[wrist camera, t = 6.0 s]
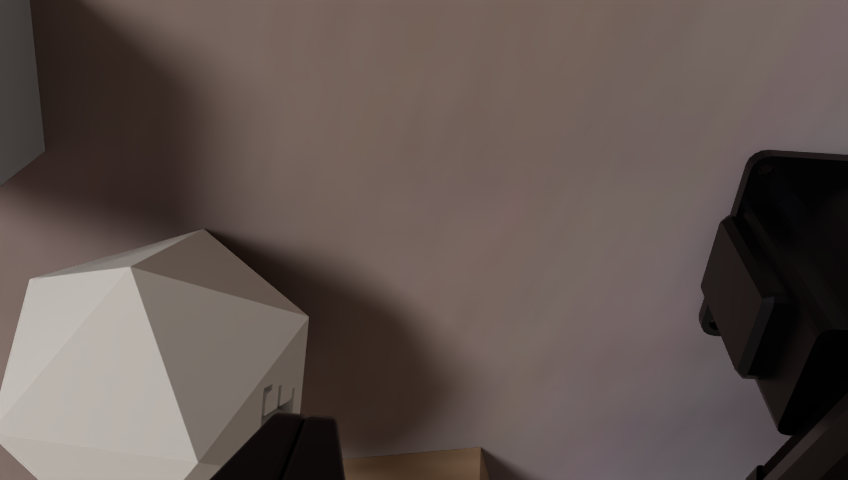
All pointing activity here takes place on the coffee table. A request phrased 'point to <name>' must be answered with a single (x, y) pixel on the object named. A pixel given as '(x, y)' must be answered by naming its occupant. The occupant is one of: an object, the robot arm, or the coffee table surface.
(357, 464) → the walnut block
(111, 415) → the die
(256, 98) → the coffee table surface
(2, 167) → the slate block
